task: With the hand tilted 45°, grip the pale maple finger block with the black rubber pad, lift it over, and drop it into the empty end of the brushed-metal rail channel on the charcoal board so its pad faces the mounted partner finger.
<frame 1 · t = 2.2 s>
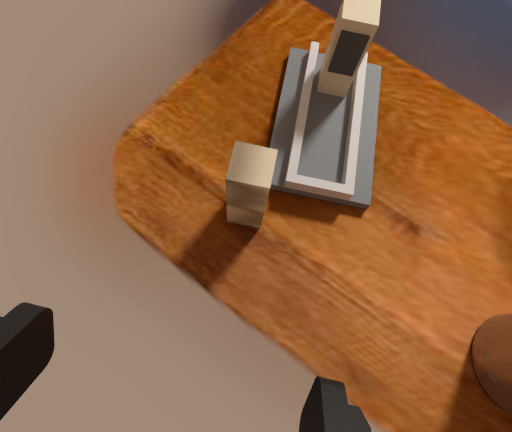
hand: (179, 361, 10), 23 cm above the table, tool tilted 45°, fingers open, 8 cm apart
rail board: (324, 125, 41), on the table
maple finger: (246, 209, 36), on the table
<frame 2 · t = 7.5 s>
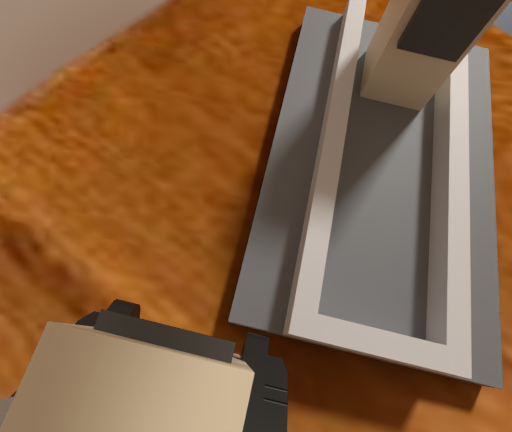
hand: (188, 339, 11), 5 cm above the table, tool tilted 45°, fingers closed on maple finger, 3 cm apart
rail board: (375, 168, 19), on the table
maple finger: (187, 388, 14), on the table, touching gripper
when the fingers open (7 cm above the table, at t = 13.3 s): maple finger drops 2 cm, resting on rail board.
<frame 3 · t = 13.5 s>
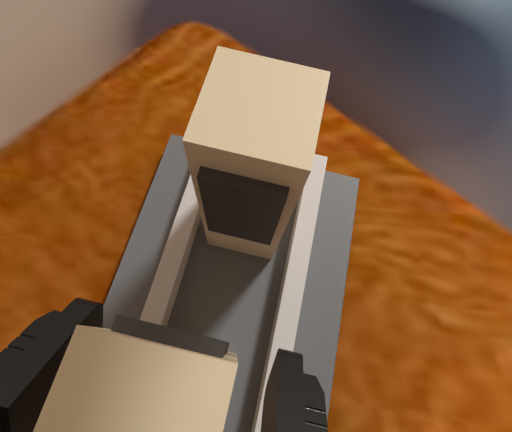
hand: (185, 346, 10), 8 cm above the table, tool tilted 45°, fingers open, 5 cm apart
rail board: (222, 321, 18), on the table
maple finger: (190, 384, 16), point 1 cm above the table, touching rail board
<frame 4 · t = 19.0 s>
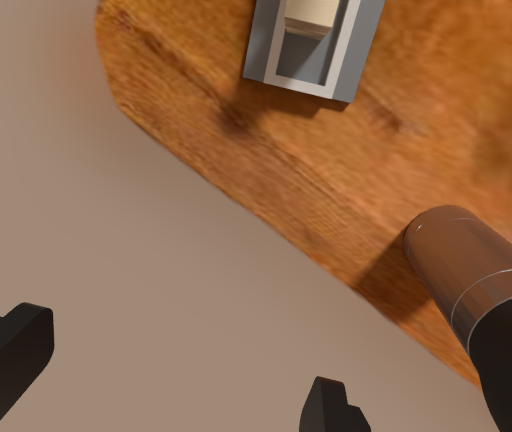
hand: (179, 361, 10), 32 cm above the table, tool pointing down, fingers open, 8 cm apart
maple finger: (308, 16, 33), point 1 cm above the table, touching rail board
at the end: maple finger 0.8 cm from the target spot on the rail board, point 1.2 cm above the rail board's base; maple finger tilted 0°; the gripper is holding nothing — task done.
